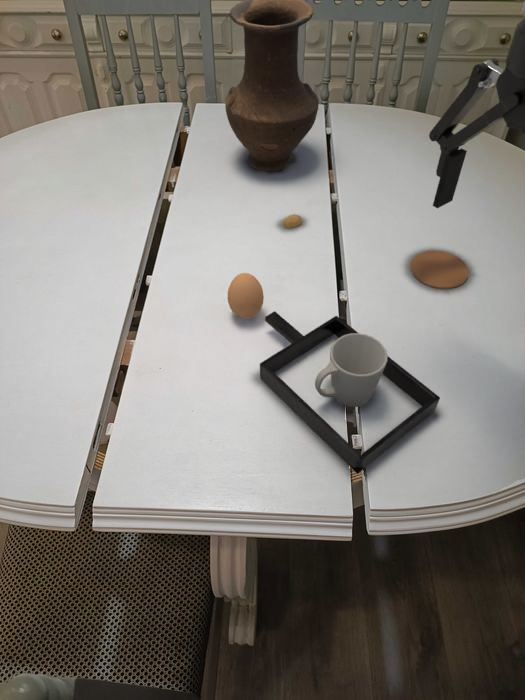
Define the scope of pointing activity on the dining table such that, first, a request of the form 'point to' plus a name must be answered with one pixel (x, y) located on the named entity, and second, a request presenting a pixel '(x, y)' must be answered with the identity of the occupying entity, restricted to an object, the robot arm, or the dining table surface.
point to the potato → (292, 221)
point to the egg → (245, 295)
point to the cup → (353, 369)
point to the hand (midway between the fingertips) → (488, 230)
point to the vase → (271, 83)
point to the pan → (312, 419)
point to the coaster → (439, 269)
